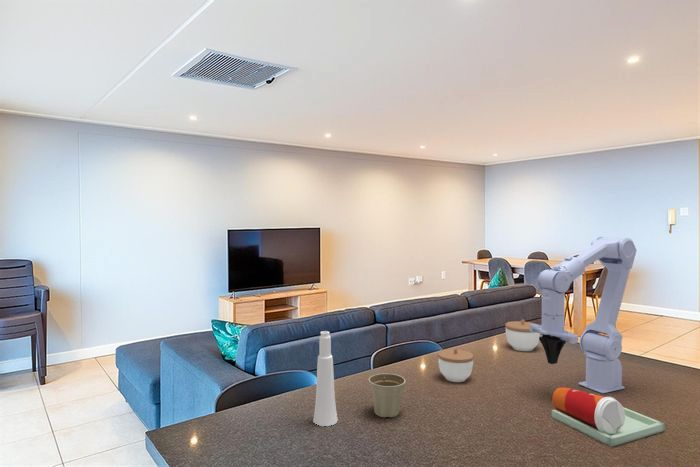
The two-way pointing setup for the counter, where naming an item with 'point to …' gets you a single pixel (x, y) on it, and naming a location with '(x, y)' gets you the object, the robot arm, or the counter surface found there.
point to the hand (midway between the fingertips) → (552, 363)
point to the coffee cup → (590, 409)
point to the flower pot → (386, 393)
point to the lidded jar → (455, 364)
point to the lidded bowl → (521, 335)
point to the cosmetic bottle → (325, 384)
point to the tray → (630, 431)
